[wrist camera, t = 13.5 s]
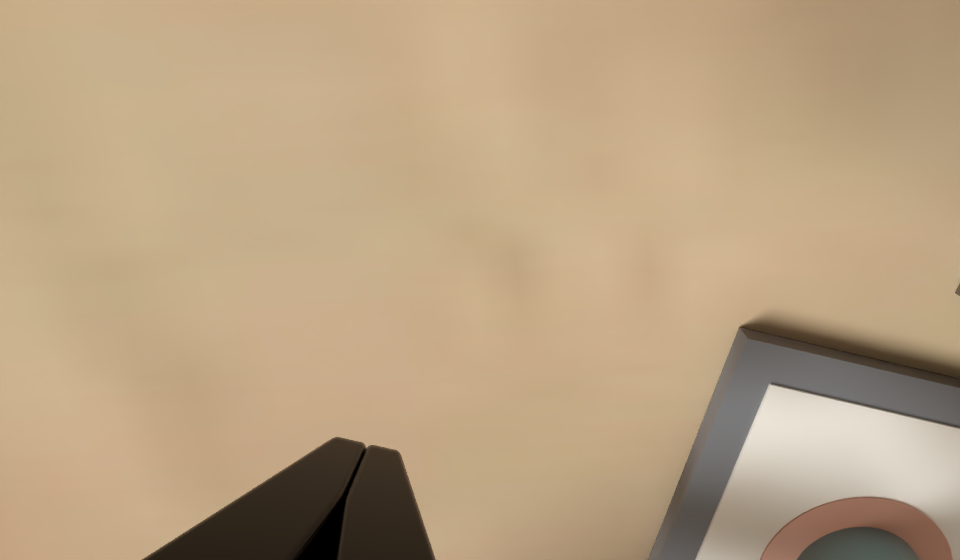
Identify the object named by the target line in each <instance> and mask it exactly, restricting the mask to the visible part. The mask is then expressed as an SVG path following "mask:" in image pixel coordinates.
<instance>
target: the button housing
mask: <svg viewBox="0 0 960 560" xmlns="http://www.w3.org/2000/svg"><path fill="white" fill-rule="evenodd" d="M955 293H956V294H958V295H959V296H960V284H959V286H958V288H957V290H956V292H955Z"/></svg>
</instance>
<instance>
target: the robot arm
mask: <svg viewBox="0 0 960 560" xmlns="http://www.w3.org/2000/svg"><path fill="white" fill-rule="evenodd" d="M142 560H435V556H434V553H433V550H432V547H431V544H430V541H429V538H428V535H427V532H426V529H425V526H424V523H423V520H422V517H421V514H420V511H419V508H418V505H417V502H416V499H415V496H414V493H413V490H412V487H411V484H410V481H409V478H408V475H407V472H406V469H405V466H404V463H403V460H402V457H401V454H400V453H399V452H398V451H397V450H393V449H389V448H384V447H380V446H375V445H370V446H368V447H367V448H366V446H365V444H364V443H362V442H358V441H353V440H349V439H345V438H340V437H335V438H332V439H331V440H329V441H327V442H326V443H324V444H323V445H321V446H320V447H318V448H316V449H315V450H313V451H312V452H310V453H309V454H307V455H305V456H304V457H302V458H301V459H299V460H298V461H296V462H294V463H293V464H291V465H290V466H288V467H287V468H285V469H284V470H282V471H280V472H279V473H277V474H276V475H274V476H273V477H271V478H269V479H268V480H266V481H265V482H263V483H262V484H260V485H258V486H257V487H255V488H254V489H252V490H251V491H249V492H247V493H246V494H244V495H243V496H241V497H240V498H238V499H236V500H235V501H233V502H232V503H230V504H229V505H227V506H225V507H224V508H222V509H221V510H219V511H218V512H216V513H214V514H213V515H211V516H210V517H208V518H207V519H205V520H204V521H202V522H200V523H199V524H197V525H196V526H194V527H193V528H191V529H189V530H188V531H186V532H185V533H183V534H182V535H180V536H178V537H177V538H175V539H174V540H172V541H171V542H169V543H167V544H166V545H164V546H163V547H161V548H160V549H158V550H156V551H155V552H153V553H152V554H150V555H149V556H147V557H145V558H144V559H142Z"/></svg>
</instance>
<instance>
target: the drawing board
mask: <svg viewBox="0 0 960 560" xmlns="http://www.w3.org/2000/svg"><path fill="white" fill-rule="evenodd" d="M852 527H872V528H878V529H882V530H886V531H889V532H891V533H893V534H895V535H897V536H899V537H900V538H902V539H903V540H904V541H906V542H907V543H908V544H909V545H910V547H911V548H912V549H913V550H914V552H915V553H916V554H917V555H918V557H919V558H920V559H921V560H960V379H958V378H954V377H949V376H945V375H941V374H937V373H932V372H928V371H924V370H920V369H915V368H911V367H907V366H902V365H898V364H894V363H890V362H885V361H881V360H877V359H873V358H868V357H864V356H860V355H856V354H851V353H847V352H843V351H839V350H834V349H830V348H826V347H822V346H817V345H813V344H809V343H804V342H800V341H796V340H792V339H787V338H783V337H779V336H775V335H770V334H766V333H762V332H758V331H753V330H749V329H745V328H741V327H739V330H738V332H737V335H736V337H735V340H734V342H733V345H732V347H731V350H730V353H729V355H728V358H727V360H726V363H725V365H724V368H723V370H722V373H721V376H720V378H719V381H718V383H717V386H716V388H715V391H714V393H713V396H712V399H711V401H710V404H709V406H708V409H707V411H706V414H705V416H704V419H703V422H702V424H701V427H700V429H699V432H698V434H697V437H696V439H695V442H694V445H693V447H692V450H691V452H690V455H689V457H688V460H687V462H686V465H685V467H684V470H683V473H682V475H681V478H680V480H679V483H678V485H677V488H676V490H675V493H674V496H673V498H672V501H671V503H670V506H669V508H668V511H667V513H666V516H665V519H664V521H663V524H662V526H661V529H660V531H659V534H658V536H657V539H656V542H655V544H654V547H653V549H652V552H651V554H650V557H649V559H648V560H797V558H798V557H799V555H800V554H801V553H802V552H803V551H804V550H805V549H806V548H807V547H808V546H809V545H810V544H812V543H813V542H814V541H816V540H818V539H819V538H821V537H823V536H825V535H827V534H829V533H832V532H835V531H838V530H842V529H846V528H852Z"/></svg>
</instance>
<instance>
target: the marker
mask: <svg viewBox="0 0 960 560" xmlns="http://www.w3.org/2000/svg"><path fill="white" fill-rule="evenodd" d="M797 560H921V559H920V558H919V557H918V555H917V554H916V553H915V552H914V550H913V549H912V548H911V547H910V545H909V544H908V543H907V542H906V541H904V540H903V539H902V538H900V537H899V536H897V535H895V534H893V533H891V532H889V531H886V530H882V529H878V528H872V527H852V528H846V529H842V530H838V531H835V532H832V533H829V534H827V535H825V536H823V537H821V538H819V539H818V540H816V541H814V542H813V543H812V544H810V545H809V546H808V547H807V548H806V549H805V550H804V551H803V552H802V553H801V554H800V555H799V557H798V558H797Z"/></svg>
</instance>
